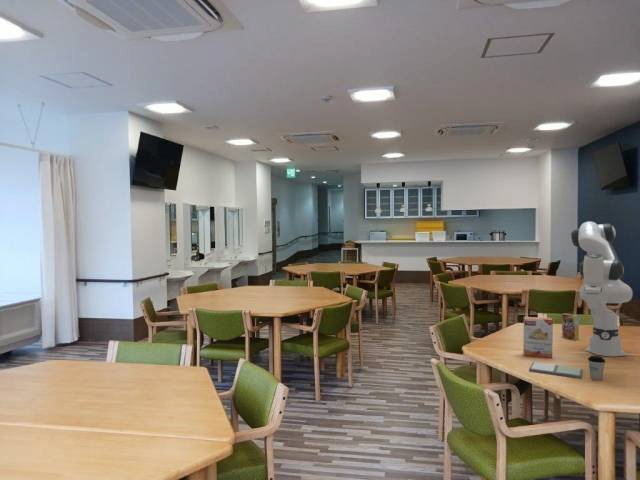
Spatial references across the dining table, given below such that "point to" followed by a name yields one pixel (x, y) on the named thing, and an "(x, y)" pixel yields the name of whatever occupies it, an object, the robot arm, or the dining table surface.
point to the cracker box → (538, 337)
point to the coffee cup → (596, 367)
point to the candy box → (570, 326)
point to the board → (556, 370)
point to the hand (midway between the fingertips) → (593, 316)
